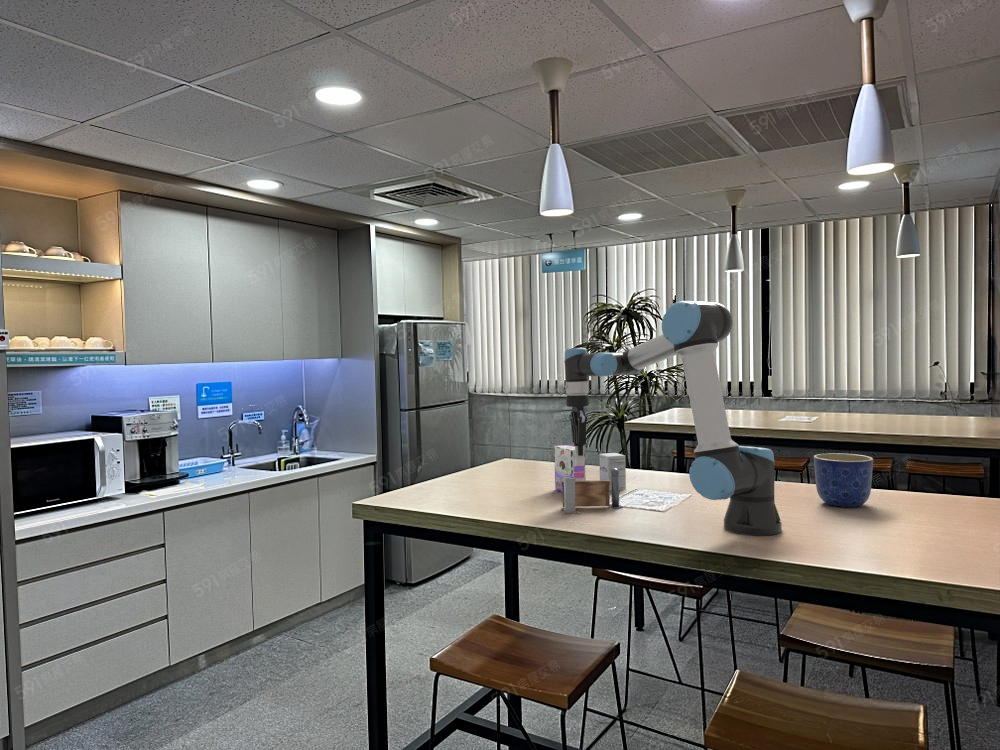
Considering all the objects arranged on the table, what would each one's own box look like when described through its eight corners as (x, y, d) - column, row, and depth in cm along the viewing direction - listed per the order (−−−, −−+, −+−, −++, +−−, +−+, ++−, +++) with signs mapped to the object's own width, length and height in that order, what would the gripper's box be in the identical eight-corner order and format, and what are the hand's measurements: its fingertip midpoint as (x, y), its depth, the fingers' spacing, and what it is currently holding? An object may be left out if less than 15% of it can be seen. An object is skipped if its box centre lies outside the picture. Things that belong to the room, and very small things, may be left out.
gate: (609, 505, 220) (609, 480, 220) (610, 506, 219) (609, 481, 218) (562, 505, 220) (561, 480, 220) (562, 507, 219) (562, 481, 219)
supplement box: (599, 487, 253) (598, 453, 252) (617, 485, 255) (616, 452, 255) (608, 490, 246) (607, 456, 245) (626, 489, 248) (626, 455, 248)
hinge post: (622, 508, 218) (622, 469, 217) (611, 508, 217) (611, 469, 217) (619, 505, 221) (618, 467, 221) (608, 506, 221) (607, 467, 220)
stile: (578, 513, 212) (577, 478, 212) (564, 513, 212) (564, 479, 211) (575, 510, 216) (574, 476, 215) (561, 511, 215) (561, 477, 215)
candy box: (586, 495, 239) (585, 448, 239) (571, 496, 237) (571, 449, 237) (568, 488, 252) (567, 444, 252) (554, 489, 250) (553, 445, 250)
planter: (859, 513, 204) (859, 463, 204) (804, 504, 218) (803, 457, 217) (882, 504, 215) (882, 456, 215) (828, 496, 228) (828, 451, 228)
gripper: (561, 394, 231) (564, 463, 232) (571, 395, 219) (574, 468, 219) (582, 393, 233) (585, 462, 233) (593, 394, 220) (596, 467, 220)
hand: (579, 465), depth 226 cm, fingers closed
